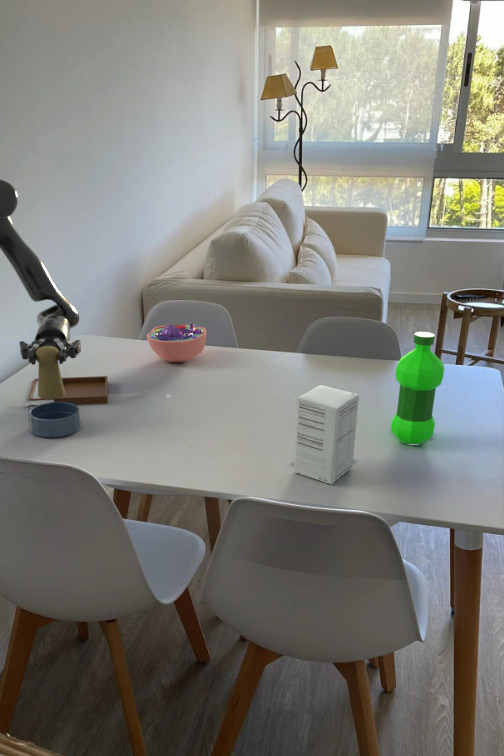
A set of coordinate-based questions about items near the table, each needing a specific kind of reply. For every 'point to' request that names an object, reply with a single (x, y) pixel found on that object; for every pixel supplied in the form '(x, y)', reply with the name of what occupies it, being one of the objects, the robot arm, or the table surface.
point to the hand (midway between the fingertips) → (46, 359)
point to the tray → (81, 390)
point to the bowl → (54, 419)
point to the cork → (49, 373)
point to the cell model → (177, 341)
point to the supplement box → (325, 433)
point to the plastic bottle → (417, 391)
